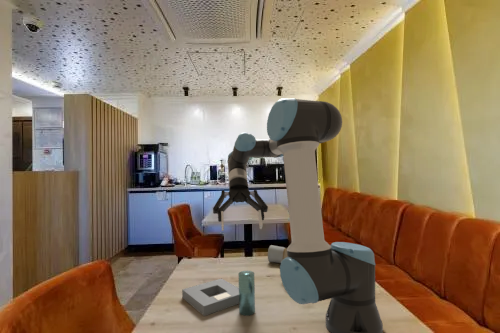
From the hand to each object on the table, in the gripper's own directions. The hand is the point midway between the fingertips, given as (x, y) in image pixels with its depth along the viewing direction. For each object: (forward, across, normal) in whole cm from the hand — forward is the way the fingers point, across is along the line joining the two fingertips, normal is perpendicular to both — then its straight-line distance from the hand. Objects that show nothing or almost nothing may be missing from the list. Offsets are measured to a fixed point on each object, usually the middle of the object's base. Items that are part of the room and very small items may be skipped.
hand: (242, 228), depth 104 cm
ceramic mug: (-7, -20, -42) cm, 47 cm away
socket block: (+18, +10, -16) cm, 26 cm away
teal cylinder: (+25, 0, -9) cm, 26 cm away
